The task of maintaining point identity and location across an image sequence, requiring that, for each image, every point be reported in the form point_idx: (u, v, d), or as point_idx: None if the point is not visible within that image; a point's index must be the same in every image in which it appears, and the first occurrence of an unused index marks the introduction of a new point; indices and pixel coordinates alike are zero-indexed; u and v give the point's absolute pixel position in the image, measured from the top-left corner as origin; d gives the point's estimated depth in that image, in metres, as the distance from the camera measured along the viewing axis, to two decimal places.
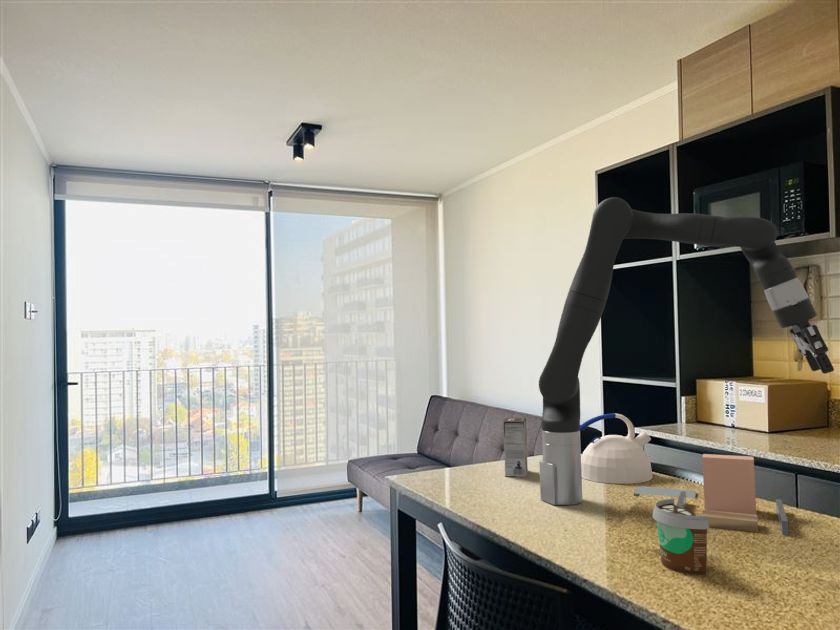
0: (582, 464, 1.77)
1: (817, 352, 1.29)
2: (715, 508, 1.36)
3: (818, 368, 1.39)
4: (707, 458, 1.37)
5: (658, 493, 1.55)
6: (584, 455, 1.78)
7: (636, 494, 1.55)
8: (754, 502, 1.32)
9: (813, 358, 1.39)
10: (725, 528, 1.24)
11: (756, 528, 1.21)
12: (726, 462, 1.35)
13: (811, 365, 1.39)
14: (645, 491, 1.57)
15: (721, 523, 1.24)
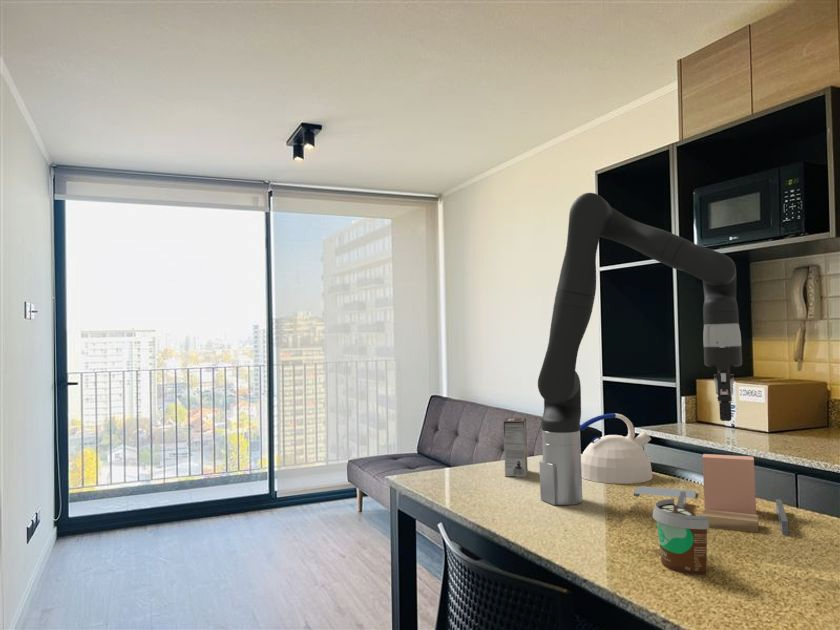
0: (582, 464, 1.77)
1: (720, 398, 1.31)
2: (716, 508, 1.36)
3: None
4: (707, 458, 1.37)
5: (658, 493, 1.55)
6: (584, 455, 1.78)
7: (636, 494, 1.55)
8: (754, 502, 1.32)
9: None
10: (725, 528, 1.23)
11: (756, 528, 1.21)
12: (727, 462, 1.35)
13: None
14: (645, 491, 1.57)
15: (721, 523, 1.24)
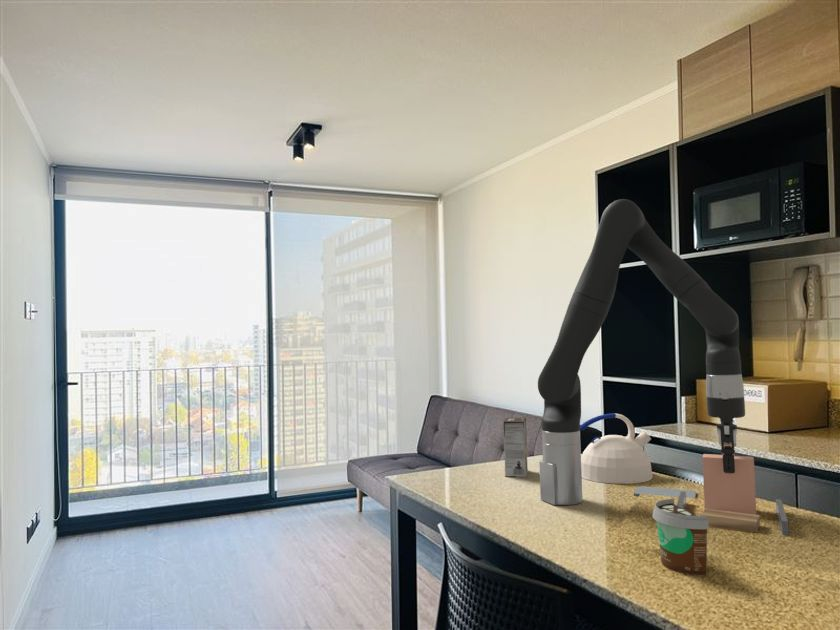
0: (582, 464, 1.77)
1: (723, 451, 1.31)
2: (716, 508, 1.36)
3: None
4: (707, 458, 1.37)
5: (658, 493, 1.55)
6: (584, 455, 1.78)
7: (636, 494, 1.55)
8: (754, 502, 1.32)
9: None
10: (725, 528, 1.23)
11: (755, 528, 1.21)
12: None
13: None
14: (645, 491, 1.57)
15: (720, 522, 1.24)
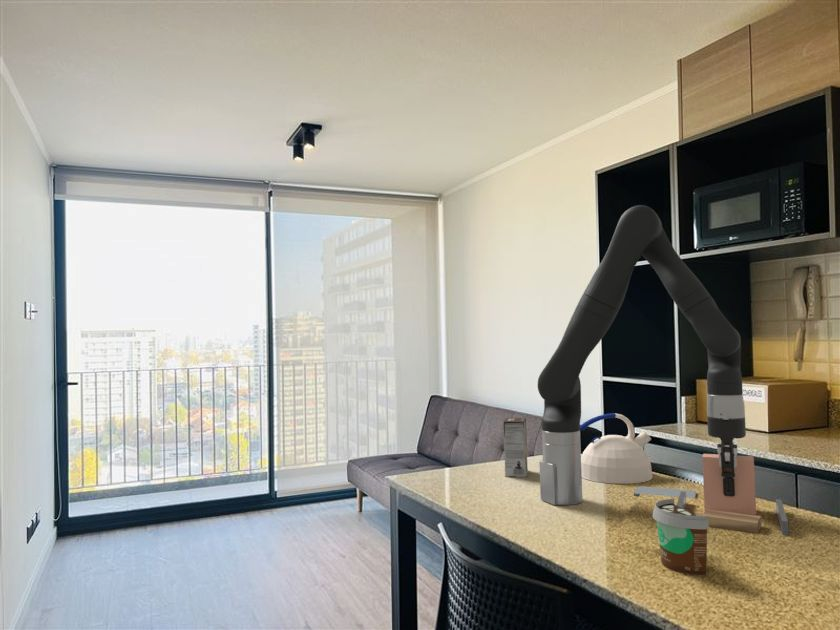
0: (582, 464, 1.77)
1: (723, 475, 1.32)
2: (715, 508, 1.36)
3: None
4: (707, 458, 1.37)
5: (658, 493, 1.55)
6: (584, 455, 1.78)
7: (636, 494, 1.55)
8: (754, 502, 1.32)
9: None
10: None
11: (756, 529, 1.20)
12: None
13: None
14: (645, 491, 1.57)
15: (721, 523, 1.24)
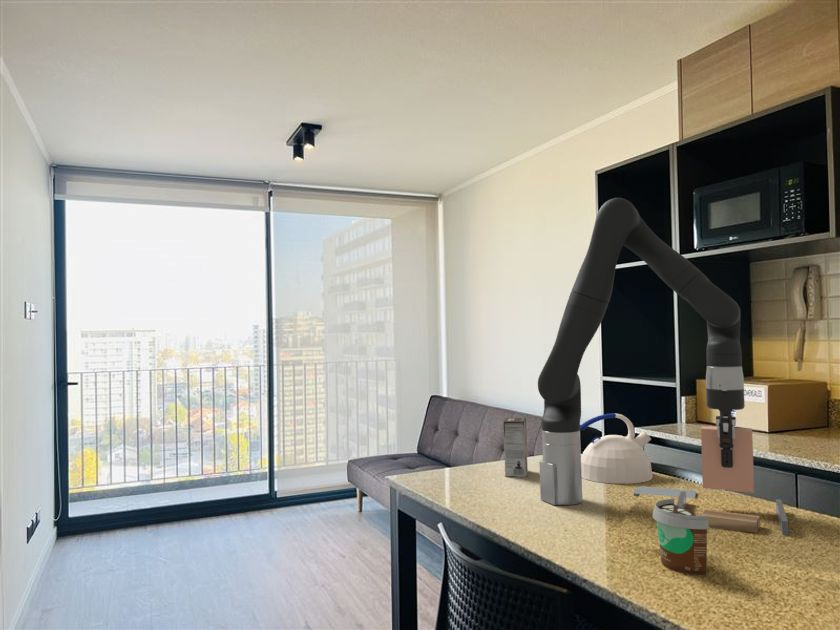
0: (582, 464, 1.77)
1: (722, 446, 1.33)
2: (713, 479, 1.36)
3: None
4: (706, 430, 1.37)
5: (658, 493, 1.55)
6: (584, 455, 1.78)
7: (636, 494, 1.55)
8: (752, 473, 1.33)
9: None
10: None
11: (755, 529, 1.20)
12: None
13: None
14: (645, 491, 1.57)
15: (720, 523, 1.24)
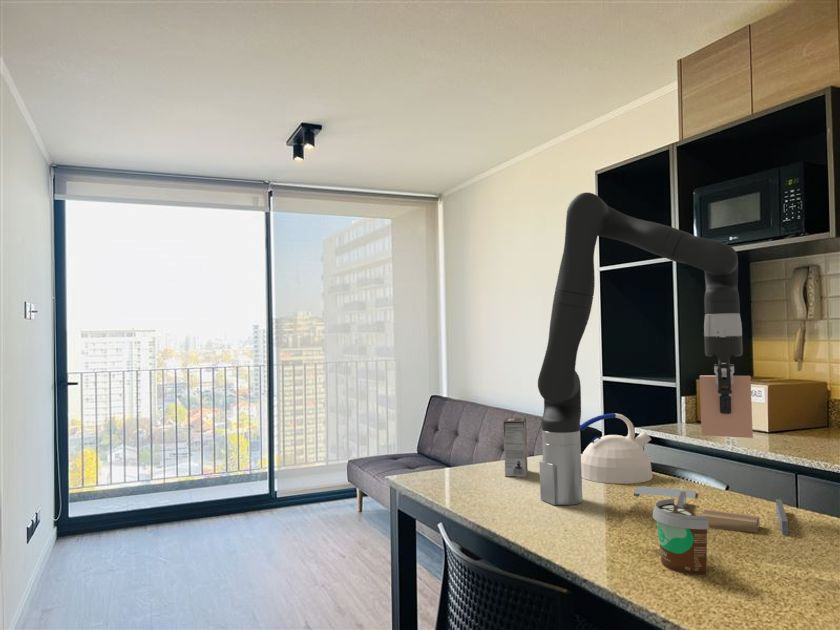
0: (582, 464, 1.77)
1: (720, 391, 1.33)
2: (712, 426, 1.36)
3: None
4: (704, 377, 1.37)
5: (658, 493, 1.55)
6: (584, 455, 1.78)
7: (636, 494, 1.55)
8: (750, 419, 1.33)
9: None
10: (724, 528, 1.23)
11: (755, 529, 1.20)
12: None
13: None
14: (645, 491, 1.57)
15: (720, 523, 1.24)
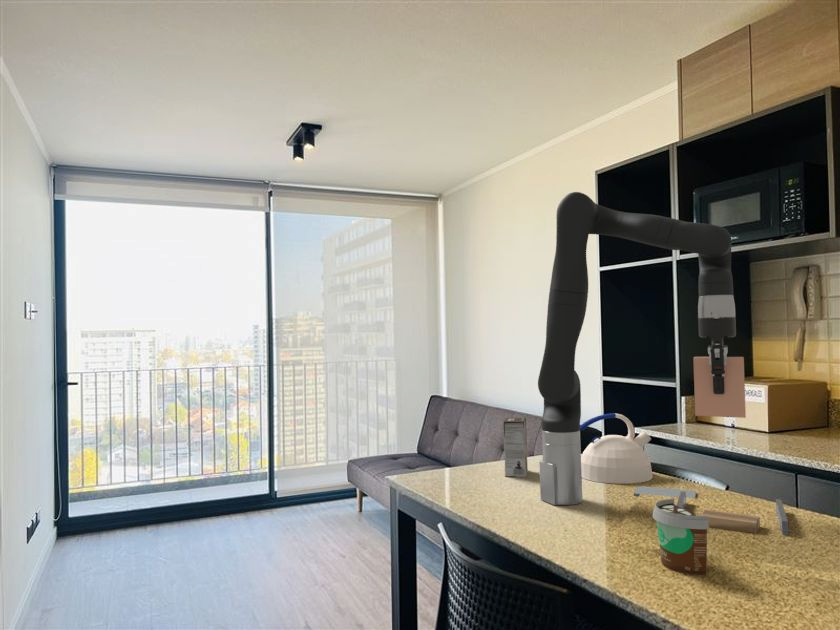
0: (582, 464, 1.77)
1: (713, 372, 1.35)
2: (706, 407, 1.38)
3: None
4: (698, 358, 1.39)
5: (658, 493, 1.55)
6: (584, 455, 1.78)
7: (636, 494, 1.55)
8: (743, 399, 1.34)
9: None
10: None
11: (754, 530, 1.20)
12: None
13: None
14: (645, 491, 1.57)
15: (719, 524, 1.24)
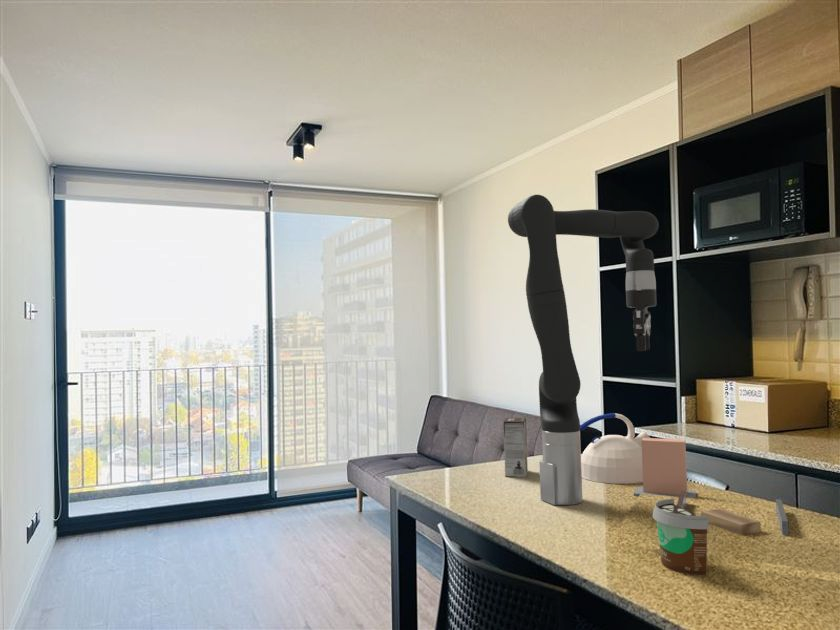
0: (582, 464, 1.77)
1: (635, 331, 1.57)
2: (652, 484, 1.56)
3: (645, 348, 1.67)
4: (645, 441, 1.57)
5: (658, 493, 1.55)
6: (584, 455, 1.78)
7: (636, 494, 1.55)
8: (684, 479, 1.52)
9: (645, 339, 1.67)
10: None
11: (739, 531, 1.20)
12: (661, 444, 1.55)
13: None
14: None
15: (714, 521, 1.25)
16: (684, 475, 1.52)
